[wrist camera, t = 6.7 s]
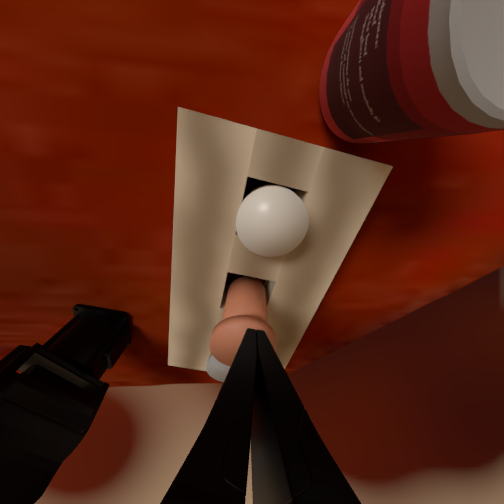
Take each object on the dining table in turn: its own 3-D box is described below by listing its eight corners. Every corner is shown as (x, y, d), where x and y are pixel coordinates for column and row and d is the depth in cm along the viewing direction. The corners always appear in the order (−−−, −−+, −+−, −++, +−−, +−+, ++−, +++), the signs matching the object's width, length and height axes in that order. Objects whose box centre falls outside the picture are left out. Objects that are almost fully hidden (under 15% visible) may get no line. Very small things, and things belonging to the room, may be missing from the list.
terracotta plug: (219, 305, 19) (205, 363, 14) (227, 267, 17) (214, 319, 12) (263, 313, 19) (266, 372, 14) (276, 277, 17) (285, 331, 12)
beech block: (179, 336, 26) (167, 365, 23) (196, 118, 15) (177, 106, 11) (275, 352, 28) (277, 382, 24) (362, 163, 16) (393, 166, 12)
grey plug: (214, 332, 25) (203, 379, 20) (219, 307, 23) (209, 352, 18) (247, 338, 26) (246, 385, 20) (256, 314, 24) (255, 360, 18)
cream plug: (237, 221, 18) (230, 249, 13) (247, 170, 16) (244, 178, 11) (283, 232, 18) (294, 262, 13) (299, 183, 16) (320, 197, 11)
